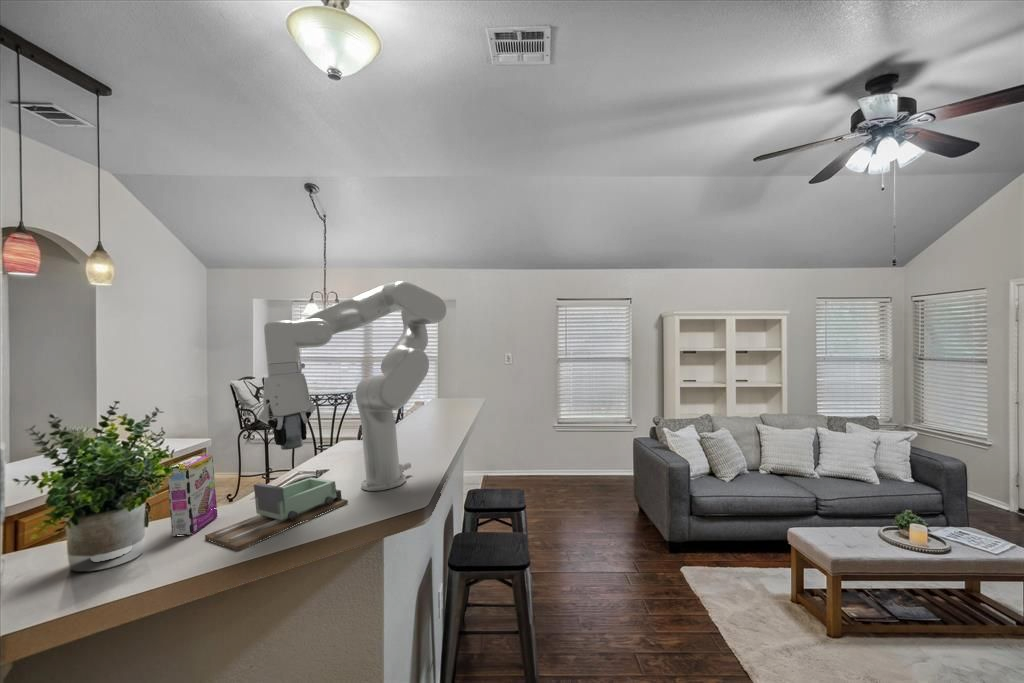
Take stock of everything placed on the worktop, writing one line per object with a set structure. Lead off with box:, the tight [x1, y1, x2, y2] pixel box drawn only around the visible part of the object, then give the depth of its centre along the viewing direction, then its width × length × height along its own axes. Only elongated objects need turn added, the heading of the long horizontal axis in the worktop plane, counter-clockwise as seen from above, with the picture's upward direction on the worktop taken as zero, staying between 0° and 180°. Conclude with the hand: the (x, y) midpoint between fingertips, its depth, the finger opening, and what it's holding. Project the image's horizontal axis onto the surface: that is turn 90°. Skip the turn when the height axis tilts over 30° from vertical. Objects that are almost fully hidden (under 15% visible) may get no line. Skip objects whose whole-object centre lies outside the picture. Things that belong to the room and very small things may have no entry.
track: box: [204, 489, 349, 552], centre depth 114 cm, size 28×14×3 cm, turn 147°
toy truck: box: [253, 477, 337, 520], centre depth 118 cm, size 15×12×8 cm
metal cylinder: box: [280, 414, 304, 451], centre depth 117 cm, size 5×5×8 cm
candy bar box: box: [167, 454, 218, 537], centre depth 115 cm, size 11×5×16 cm, turn 5°
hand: (291, 441), depth 118 cm, fingers closed on metal cylinder, 5 cm apart
